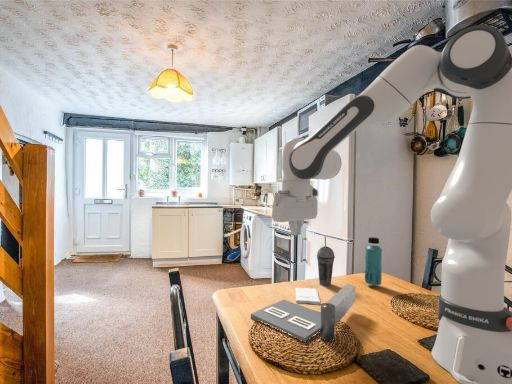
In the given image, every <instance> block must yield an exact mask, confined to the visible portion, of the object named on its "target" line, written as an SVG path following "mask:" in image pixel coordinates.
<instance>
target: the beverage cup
mask: <svg viewBox="0 0 512 384" xmlns="http://www.w3.org/2000/svg"><path fill="white" fill-rule="evenodd" d="M335 258H336V257H335V252H334V250H333V249H332V248H331V247H330V246H327V237H326V235H325V236H324V246H322V247H320V248H319V249H318V250H317V253H316V260H317V267H318V282H319V285H320V286H323V287H329V286H331V285H332V283H331V282H332V279H333V270H334V269H333V267H334V261H335Z"/></svg>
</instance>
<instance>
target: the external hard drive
mask: <svg viewBox="0 0 512 384" xmlns="http://www.w3.org/2000/svg"><path fill="white" fill-rule="evenodd" d="M295 304H307V305H308V304H310V305H318V306H319V305H320V306H321V299H320V295H319V292H318V289H317V288H309V287H307V288H305V287H295Z"/></svg>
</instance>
